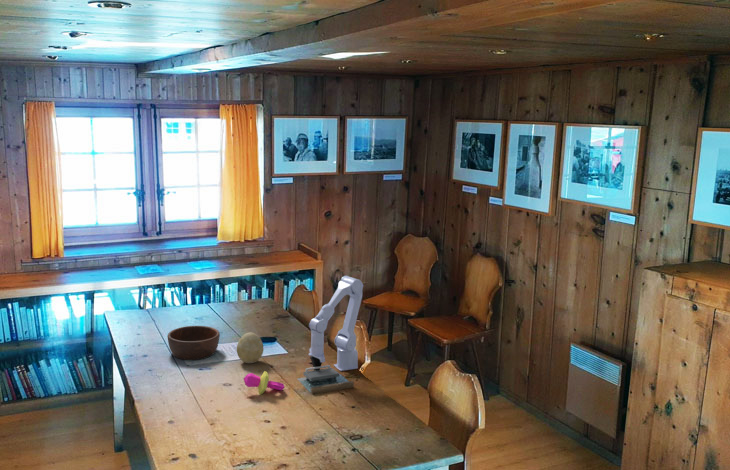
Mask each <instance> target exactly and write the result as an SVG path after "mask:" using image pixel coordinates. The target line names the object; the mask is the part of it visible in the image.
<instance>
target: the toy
mask: <svg viewBox="0 0 730 470" xmlns="http://www.w3.org/2000/svg"><path fill="white" fill-rule="evenodd" d="M269 379H270V377H269V373H268V372H267V371H265V370H264V371H263V373H262V375H261V376H259V375H256V374H255V373H253V372H251V373H247V374H246V375H245V376H244V378H243V382H244V385H246V387H248V388H256V387H257V390H258V391H257V392H258V395H259V396H260V395H263V394H264V393H265V391H267V388H268V389H271V390H275V391H276V390H277V391H283V390H284V389H285V385H284V383H282V382H278V381H273V380H269Z"/></svg>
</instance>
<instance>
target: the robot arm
mask: <svg viewBox="0 0 730 470" xmlns="http://www.w3.org/2000/svg"><path fill="white" fill-rule="evenodd" d="M363 288H364V283H363V282H362V280H361V279H358V278H355V277H351V276H349V275H343V276H342V277H341V279H340V280H339V282H338V286H337V288H336V290H335V292H334V293H333V295H332V296H331V298H330V301H329V302H328V303H326V304H324V305H323V306H322V307H321V308H320V310H319V312H318V313H317V315H316V316H315V317H314V318H312V319H311V320H310V321H309V323H308V328H309V329H310V333H311V335H310V336H311V338H310V339H311V341H310V347H309V348H308V350H309V351H308V352H309V353H308V356H309V359H310V360H311V363H312V367H319V366H322V364H323V363H325V362H326V357H325V353H324V346H325V345H324V340H325V336H324V335H325V331H326V330H327V327H328V323H329V320H330V319H331V318H332V317H333V315H334V314H335V308H336V306H337V305H338V304H339V303H340V302H341V300H342V299H343V298H344V297H345V296H347V295H348V296H349V299H348V300H349V301H348V304H347V309H346V313H345V316H344V319H343V320H344V321H343V324H342V325H343V326H342V328H341V329H339V330H338V331H337V334H336V336H335V338H334V345H335V346H336V349H337V352H336V353H337V354H336V355H337V357H336V360H337V361H336V363H335V364H333V366H334V367H335V368H336V369H338V370H339V371H340V372H343V371H349V370H355V369H359V367H358V365H359V363H358V359H359V354H358V350H357V348H356V347H357V335H356V333H355V327H356V323H357V319H358V315H359V311H360V307H361V304H362V300H363ZM320 369H321V368H319V369H313V370H320Z"/></svg>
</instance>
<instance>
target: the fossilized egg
mask: <svg viewBox="0 0 730 470" xmlns="http://www.w3.org/2000/svg"><path fill="white" fill-rule="evenodd" d="M236 344H237V345H236V354H237V356H238V358H239V359H240V360H241V361H242V362H244V363H245V364H254V363H257V362H258V361H259V360H260V359H261V357H262V356H263V354H264V344H263V341H262V339H261V337H260V336H258V334H256V333H254V332H252V331H251V332H246V333H244V334H243V335H242V336H241V337H240V338H239V340H238V342H237V343H236Z"/></svg>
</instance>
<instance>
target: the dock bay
mask: <svg viewBox="0 0 730 470" xmlns="http://www.w3.org/2000/svg"><path fill="white" fill-rule="evenodd" d="M296 379H297V380H298V382H300V383H301V385H302V386H303V387H304V388H305V389H306V390H307V391H308V392H309V394H311V395H315V394H322V393H326V392H334V391H340V390H347V389H352V388H354V387H355V385H354V384H355V383H354V382H355V381H353V380H350V381H349V380H348V379H347V378H346V377H345V376H343V375H342V374H341V373H339V377H337V378H336V379H334V378H327V379H320V380H314V382H313V383H312V382H311V381H310V380H309V379H308V378H306V377H305V376H303V377H298V378H296Z"/></svg>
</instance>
